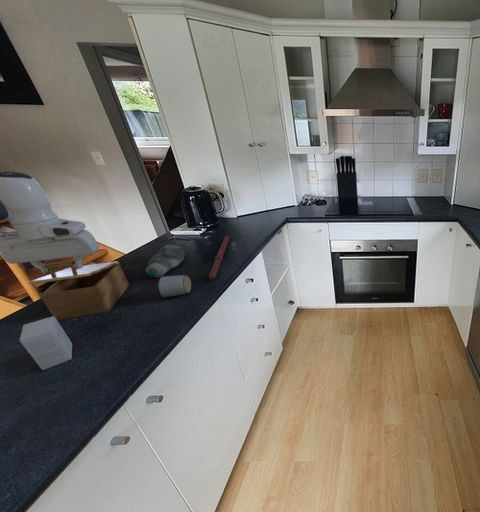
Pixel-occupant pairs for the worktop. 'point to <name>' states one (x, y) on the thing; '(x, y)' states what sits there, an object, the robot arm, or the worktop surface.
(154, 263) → the detergent
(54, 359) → the small box
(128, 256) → the worktop surface
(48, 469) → the worktop surface
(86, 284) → the chest
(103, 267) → the lid
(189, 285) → the grey cylinder
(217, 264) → the rolling pin
